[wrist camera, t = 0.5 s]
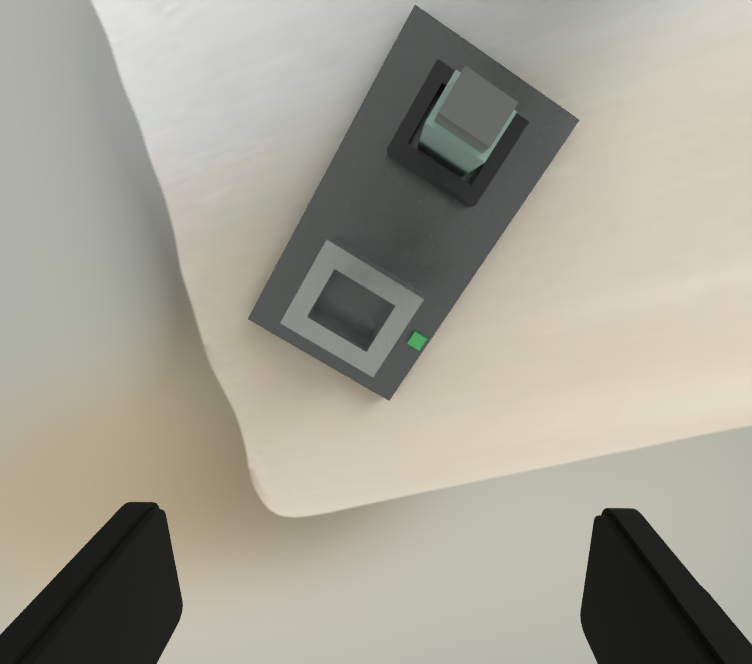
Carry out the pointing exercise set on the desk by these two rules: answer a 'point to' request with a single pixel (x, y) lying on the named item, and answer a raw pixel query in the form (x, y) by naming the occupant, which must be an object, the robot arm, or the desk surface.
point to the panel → (403, 215)
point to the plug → (466, 122)
